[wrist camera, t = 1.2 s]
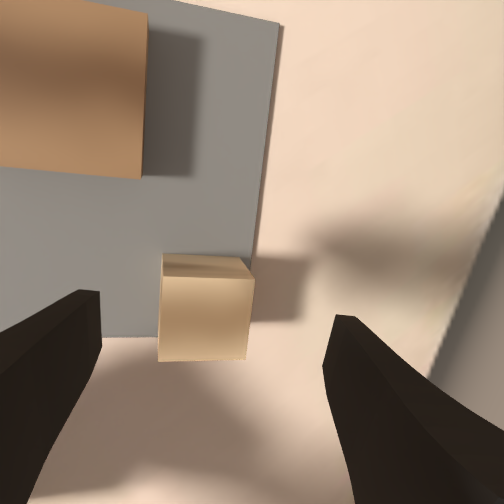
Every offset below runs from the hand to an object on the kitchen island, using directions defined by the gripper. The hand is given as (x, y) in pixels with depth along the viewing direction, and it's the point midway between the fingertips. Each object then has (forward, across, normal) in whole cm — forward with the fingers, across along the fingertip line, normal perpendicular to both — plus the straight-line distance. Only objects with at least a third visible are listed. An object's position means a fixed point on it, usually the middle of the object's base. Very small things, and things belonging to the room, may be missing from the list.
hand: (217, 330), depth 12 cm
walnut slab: (+10, +8, -5) cm, 14 cm away
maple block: (+10, +1, +5) cm, 11 cm away
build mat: (+11, +5, -1) cm, 12 cm away
